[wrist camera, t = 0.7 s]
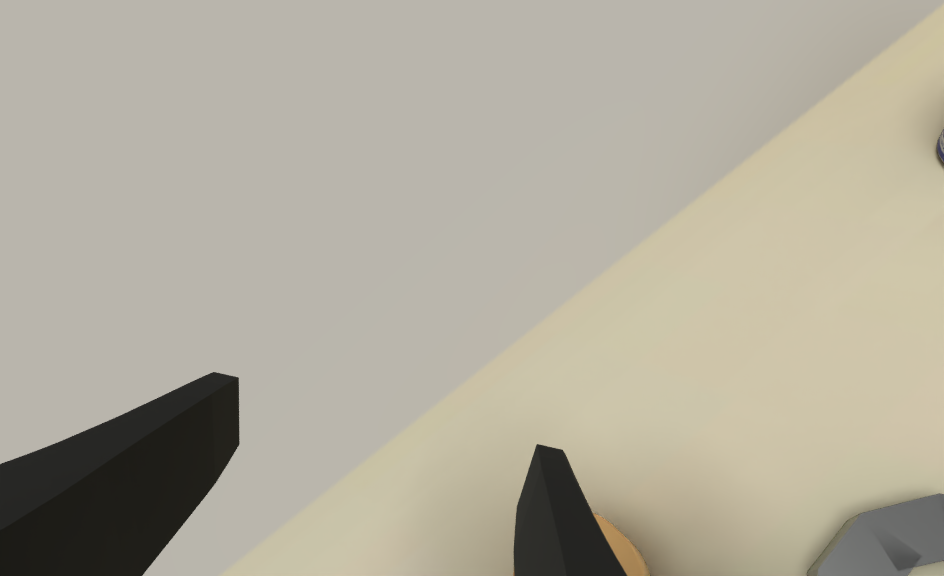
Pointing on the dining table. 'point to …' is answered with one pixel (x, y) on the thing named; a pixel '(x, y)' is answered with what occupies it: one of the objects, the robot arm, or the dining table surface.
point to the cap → (623, 549)
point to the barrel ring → (886, 541)
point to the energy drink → (941, 146)
